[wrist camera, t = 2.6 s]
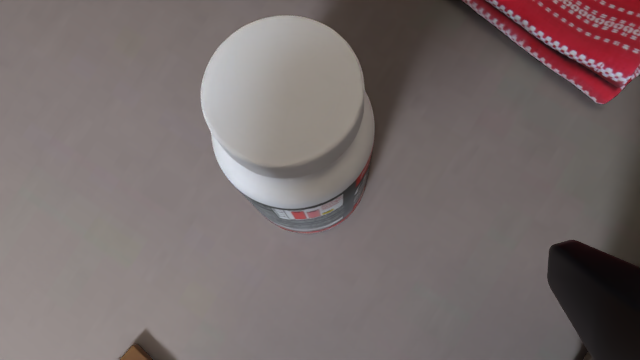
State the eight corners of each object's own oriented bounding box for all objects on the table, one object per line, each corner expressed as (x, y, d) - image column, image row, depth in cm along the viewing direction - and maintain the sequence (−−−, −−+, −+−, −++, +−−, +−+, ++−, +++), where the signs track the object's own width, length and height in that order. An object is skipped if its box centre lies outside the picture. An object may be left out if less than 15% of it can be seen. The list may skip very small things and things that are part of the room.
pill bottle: (380, 216, 21) (412, 156, 12) (266, 249, 21) (204, 215, 12) (346, 109, 23) (349, -23, 13) (239, 139, 23) (163, 29, 13)
